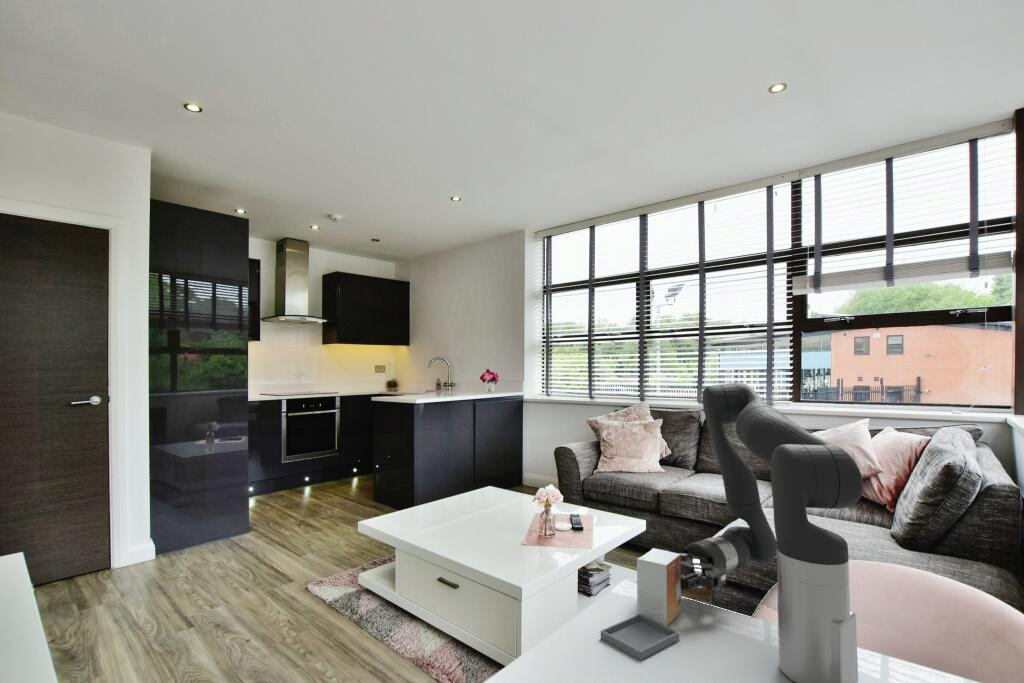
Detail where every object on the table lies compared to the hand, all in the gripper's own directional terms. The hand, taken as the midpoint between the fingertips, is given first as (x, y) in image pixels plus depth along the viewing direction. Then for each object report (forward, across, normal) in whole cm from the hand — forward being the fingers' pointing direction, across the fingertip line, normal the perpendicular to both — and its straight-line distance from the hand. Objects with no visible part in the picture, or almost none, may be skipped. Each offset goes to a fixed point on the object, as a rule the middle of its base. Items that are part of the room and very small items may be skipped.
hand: (662, 576), depth 92 cm
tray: (+11, +3, +6) cm, 13 cm away
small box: (+1, 0, +7) cm, 7 cm away
